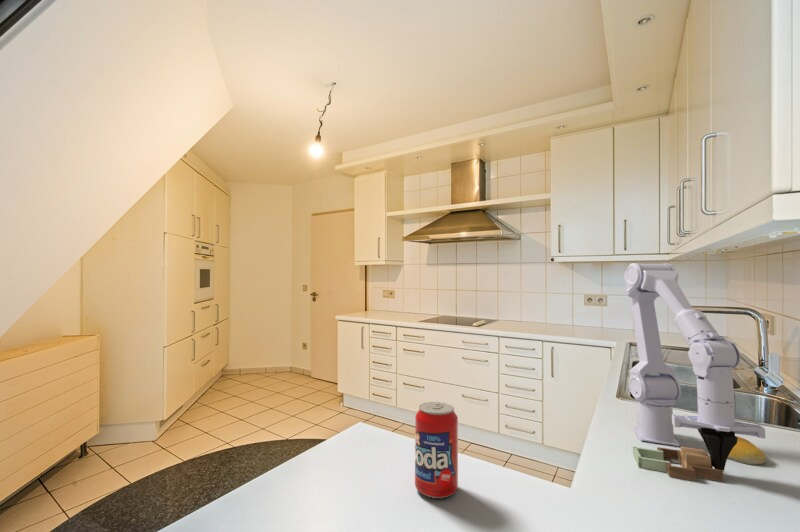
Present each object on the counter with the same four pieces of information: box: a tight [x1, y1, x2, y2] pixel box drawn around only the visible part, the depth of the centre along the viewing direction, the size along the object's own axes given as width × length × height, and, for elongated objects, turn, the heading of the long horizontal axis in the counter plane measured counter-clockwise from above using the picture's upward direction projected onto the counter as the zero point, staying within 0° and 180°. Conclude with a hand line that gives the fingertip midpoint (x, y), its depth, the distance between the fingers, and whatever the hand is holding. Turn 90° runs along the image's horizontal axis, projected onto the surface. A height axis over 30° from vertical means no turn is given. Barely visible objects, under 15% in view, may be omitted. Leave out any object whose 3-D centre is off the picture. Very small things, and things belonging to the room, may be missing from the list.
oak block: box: [679, 446, 711, 468], centre depth 76 cm, size 4×4×4 cm
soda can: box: [414, 401, 459, 499], centre depth 68 cm, size 8×8×15 cm
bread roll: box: [727, 435, 767, 466], centre depth 83 cm, size 8×9×4 cm
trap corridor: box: [632, 446, 724, 483], centre depth 78 cm, size 10×14×2 cm
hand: (718, 467), depth 75 cm, fingers closed
